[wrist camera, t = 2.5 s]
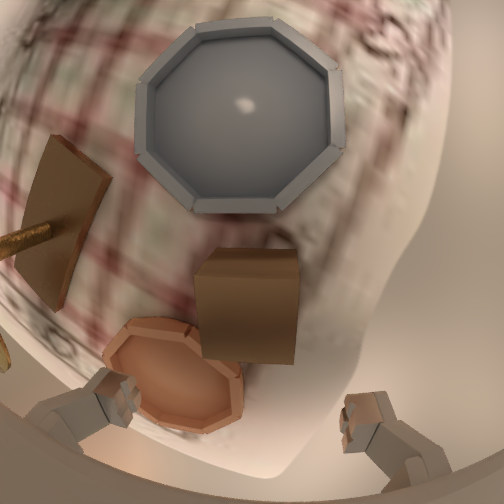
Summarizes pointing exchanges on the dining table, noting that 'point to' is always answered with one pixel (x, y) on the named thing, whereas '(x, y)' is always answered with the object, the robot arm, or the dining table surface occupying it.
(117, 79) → the dining table surface
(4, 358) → the brass balance
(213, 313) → the walnut block
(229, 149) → the slate dish
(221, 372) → the terracotta dish
